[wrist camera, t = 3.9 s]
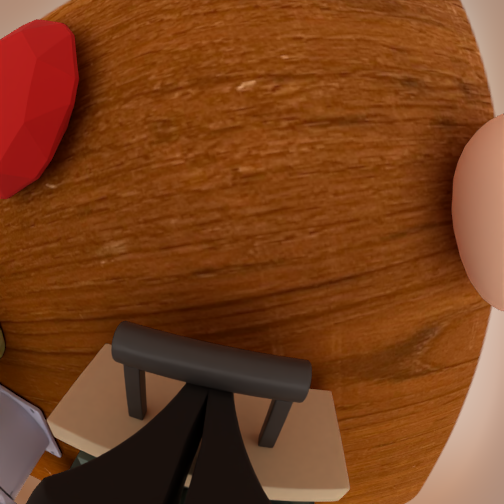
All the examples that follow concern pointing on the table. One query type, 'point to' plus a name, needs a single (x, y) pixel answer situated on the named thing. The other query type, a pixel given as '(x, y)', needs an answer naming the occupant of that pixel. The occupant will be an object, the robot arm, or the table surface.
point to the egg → (482, 210)
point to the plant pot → (1, 344)
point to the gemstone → (34, 99)
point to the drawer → (216, 377)
